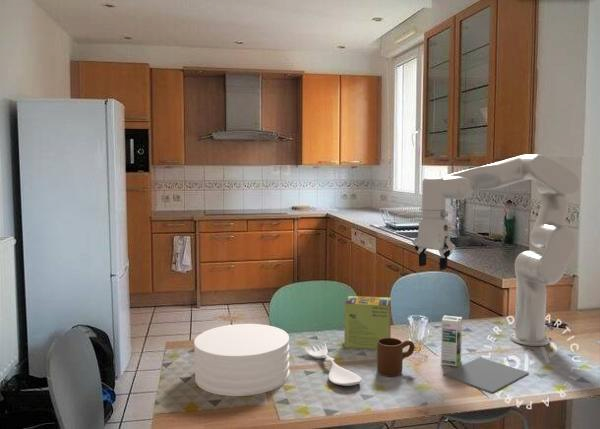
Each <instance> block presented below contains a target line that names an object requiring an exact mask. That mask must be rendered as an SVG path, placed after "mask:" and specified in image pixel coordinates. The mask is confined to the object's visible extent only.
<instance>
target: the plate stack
mask: <svg viewBox="0 0 600 429" xmlns="http://www.w3.org/2000/svg"><path fill="white" fill-rule="evenodd" d="M193 345H194V346H193V347H194V349H193V350H194V353H193V354H194V372H195V376H194V380H195V384H196V385H197V386H198V387H199V388H200V389H202V390H203V391H205V392H208V393H211V394H214V395H220V396H221V395H222V396H228V397H245V396H246V397H247V396H253V395H255V396H256V395H259V394H260V395H261V394H263V393H267V392H271V391H273V390H276V389H278V388H280V387H282V385H284V384H286V382H288V380H289V378H290V375H291V374H290V372H291V370H290V336H289V334H288V333H287V332H286V331H285V330H284V329H282V328H279V327H277V326H272V325H268V324H259V323H238V324H237V323H236V324H228V325H221V326H218V327H212V328H210V329H208V330H205V331H202V332H201V333H200V334H198V335H197V336H196V337H195V338H194V341H193Z"/></svg>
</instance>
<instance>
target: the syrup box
mask: <svg viewBox="0 0 600 429" xmlns="http://www.w3.org/2000/svg"><path fill="white" fill-rule="evenodd" d="M462 332H463V317H462V316H454V315H451V316H450V315H445V314H444V315H443V317H442V319H441V344H440V345H441V346H440V347H441V349H440V350H441V351H440V352H441V353H440V355H441V357H440V366H441V365H442V366H443V365H444V366H451V367H456V368H457V367H459V366H461V363H462V342H463V341H462V337H463V335H462V334H463V333H462Z"/></svg>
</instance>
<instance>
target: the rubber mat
mask: <svg viewBox="0 0 600 429" xmlns="http://www.w3.org/2000/svg"><path fill="white" fill-rule="evenodd" d="M528 375H529V371H528V372H527V371H525V370H521V369H519V368H516V367H512V366H509V365H505V364H502V363H499V362H496V361H493V360H491V359H487V358H484V357H478V358H475V359H473V360H470V361H469V362H466V363H464V364H463V365H462V364H461V365H460V366H459V367H457V366H456V367H455V368H453V369H451V370H450V369H449V371H446V372H444V373H442V376H444V377H447V378H450V379H452V380H455V381H458V382H461V383H463V384H466V385H469V386H471V387H474V388H477V389H479V390H483V391H485V392H487V393H490V394H494V393H496V392H497V391H500V390H501V389H504V388H505V387H507V386H508V385H511V384H513V383H515V382H516V381H518V380H520V379H522V378H524V377H525V376H528Z"/></svg>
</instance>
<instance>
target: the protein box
mask: <svg viewBox="0 0 600 429" xmlns="http://www.w3.org/2000/svg"><path fill="white" fill-rule="evenodd" d="M391 298H392V297H386V296H385V297H383V296H381V297H380V296H358V295H356V296H355V295H348V296H347V298H346V301H345V302H344V343H343V344H344V348H350V349H351V348H353V349H368V350H377V343H378V340H379V339H382V338H391V335H392V334H391V330H392V329H391V325H392V324H391V322H392V320H391V318H392V317H391V316H392V315H391V313H392V312H391V310H392V307H391V305H392V304H391V303H392V302H391V300H392V299H391Z"/></svg>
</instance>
